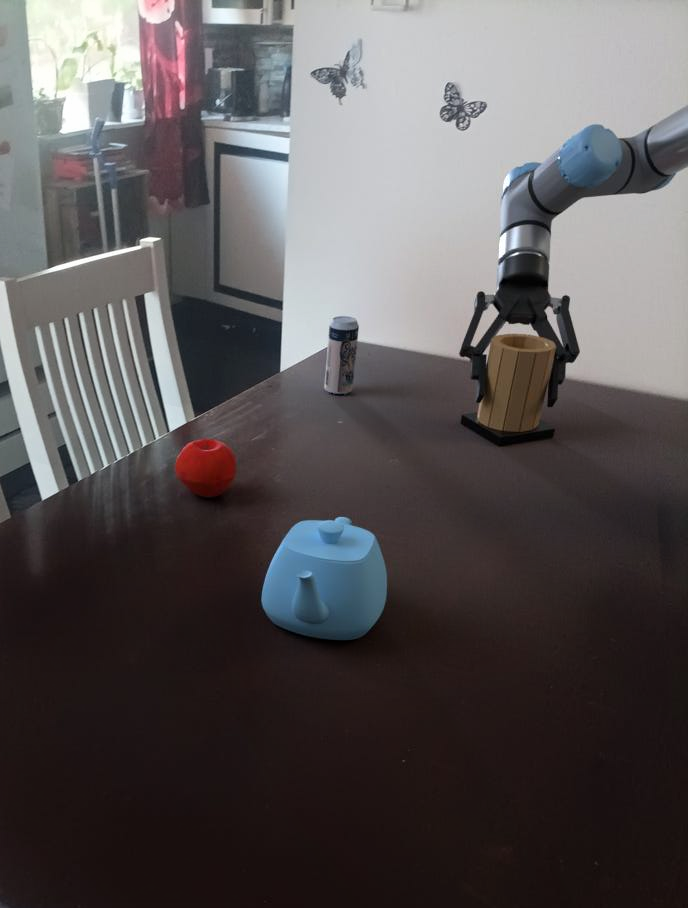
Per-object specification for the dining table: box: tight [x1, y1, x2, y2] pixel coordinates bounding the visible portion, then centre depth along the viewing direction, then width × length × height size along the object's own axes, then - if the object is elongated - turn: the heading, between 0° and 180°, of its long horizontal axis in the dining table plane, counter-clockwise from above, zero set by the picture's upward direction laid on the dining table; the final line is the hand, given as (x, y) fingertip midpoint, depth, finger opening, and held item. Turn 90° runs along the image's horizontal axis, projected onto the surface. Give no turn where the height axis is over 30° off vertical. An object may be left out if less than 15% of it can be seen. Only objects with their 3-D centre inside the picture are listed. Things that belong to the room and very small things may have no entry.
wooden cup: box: [477, 333, 556, 432], centre depth 136 cm, size 9×9×12 cm
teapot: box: [260, 516, 388, 641], centre depth 92 cm, size 13×11×18 cm
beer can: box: [323, 315, 360, 395], centre depth 151 cm, size 5×5×12 cm
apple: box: [174, 438, 237, 498], centre depth 118 cm, size 8×8×7 cm
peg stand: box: [459, 411, 556, 447], centre depth 137 cm, size 10×10×10 cm
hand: (515, 400), depth 134 cm, fingers open, 10 cm apart
